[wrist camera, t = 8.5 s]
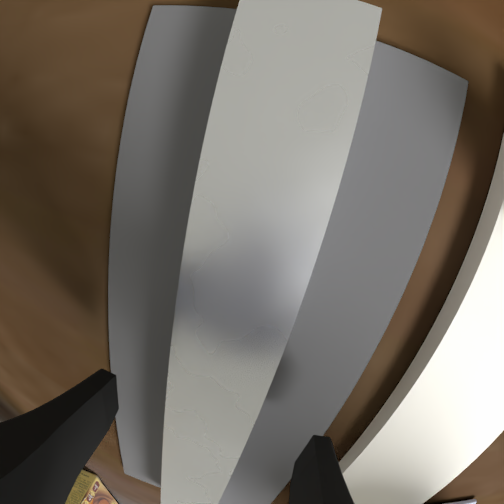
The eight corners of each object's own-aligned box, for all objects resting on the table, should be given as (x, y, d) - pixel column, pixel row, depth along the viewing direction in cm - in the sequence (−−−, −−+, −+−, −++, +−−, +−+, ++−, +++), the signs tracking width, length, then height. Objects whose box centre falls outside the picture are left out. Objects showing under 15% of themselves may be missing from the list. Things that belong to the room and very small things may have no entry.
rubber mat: (261, 510, 17) (261, 514, 16) (126, 469, 17) (124, 473, 17) (462, 82, 7) (468, 81, 7) (158, 9, 8) (153, 5, 7)
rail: (212, 503, 17) (204, 530, 14) (170, 491, 17) (160, 517, 15) (363, 38, 7) (381, 8, 5) (260, 13, 7) (246, -22, 5)
